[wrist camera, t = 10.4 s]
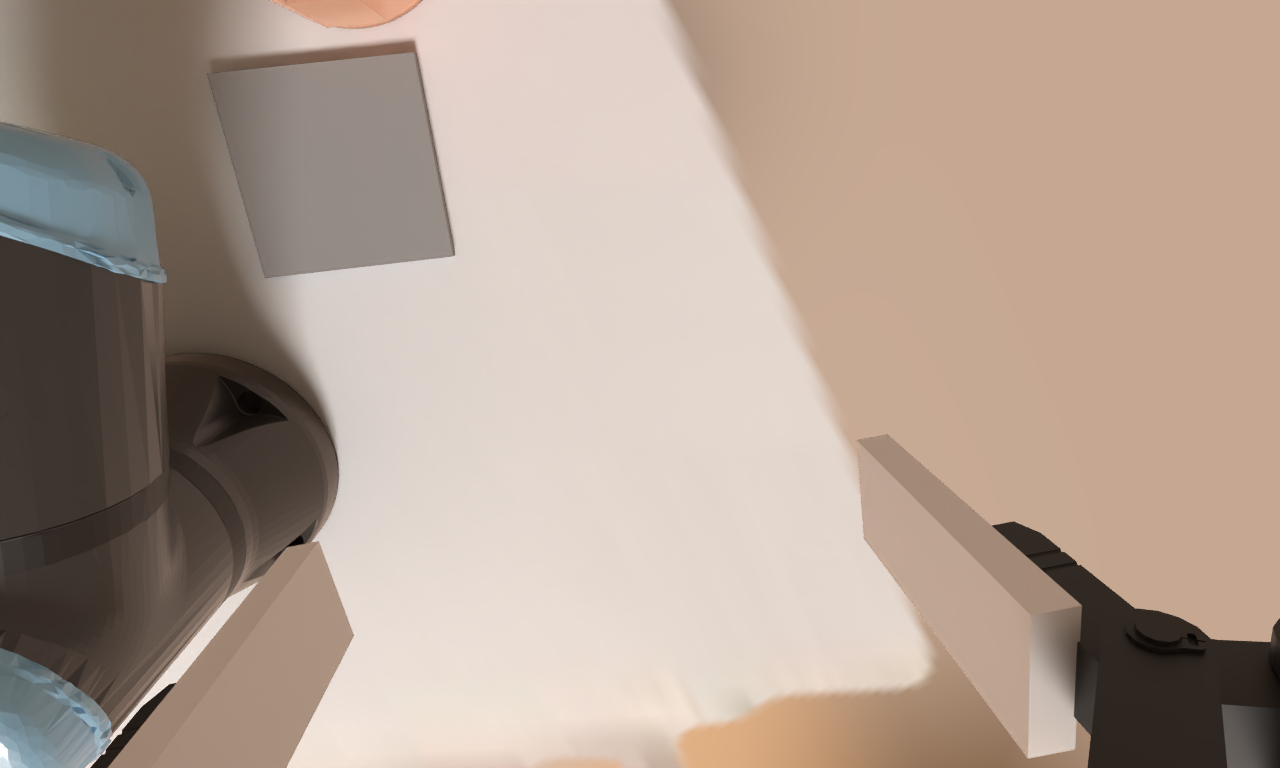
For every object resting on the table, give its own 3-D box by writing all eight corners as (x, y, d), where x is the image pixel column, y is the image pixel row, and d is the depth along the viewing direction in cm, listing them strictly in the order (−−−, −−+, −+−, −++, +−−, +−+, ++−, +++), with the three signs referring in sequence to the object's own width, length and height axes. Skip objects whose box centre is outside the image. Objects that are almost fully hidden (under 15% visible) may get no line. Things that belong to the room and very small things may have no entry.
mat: (270, 276, 39) (265, 278, 39) (213, 75, 36) (206, 73, 35) (455, 255, 40) (453, 256, 39) (416, 54, 36) (413, 52, 36)
